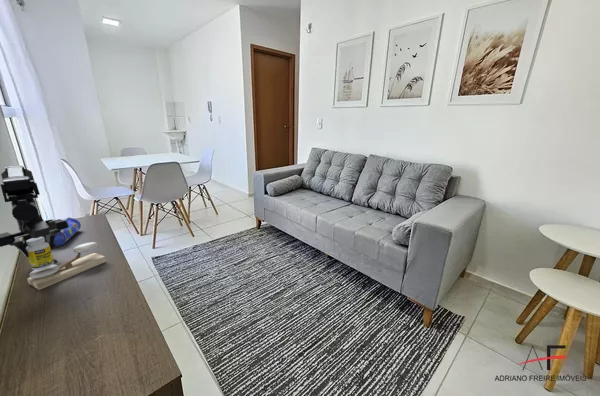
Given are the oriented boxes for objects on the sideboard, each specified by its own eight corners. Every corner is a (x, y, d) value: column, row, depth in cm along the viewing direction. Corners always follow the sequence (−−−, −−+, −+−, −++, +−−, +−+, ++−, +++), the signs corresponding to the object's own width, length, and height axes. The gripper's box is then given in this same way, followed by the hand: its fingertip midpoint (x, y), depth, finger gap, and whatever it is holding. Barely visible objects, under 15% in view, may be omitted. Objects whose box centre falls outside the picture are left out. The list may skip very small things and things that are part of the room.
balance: (29, 284, 94) (22, 264, 92) (95, 257, 113) (91, 240, 111) (39, 289, 91) (32, 269, 88) (105, 261, 110) (101, 244, 108)
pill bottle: (40, 271, 91) (31, 244, 88) (27, 269, 92) (17, 242, 89) (59, 262, 96) (51, 236, 93) (46, 260, 98) (38, 235, 95)
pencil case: (64, 232, 140) (59, 216, 137) (83, 230, 143) (79, 214, 140) (44, 249, 120) (39, 231, 118) (67, 246, 124) (62, 228, 121)
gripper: (-3, 226, 77) (12, 271, 81) (71, 209, 93) (81, 247, 97) (-17, 220, 81) (-2, 262, 86) (56, 204, 98) (66, 241, 102)
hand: (39, 252), depth 93 cm, fingers closed on pill bottle, 6 cm apart
